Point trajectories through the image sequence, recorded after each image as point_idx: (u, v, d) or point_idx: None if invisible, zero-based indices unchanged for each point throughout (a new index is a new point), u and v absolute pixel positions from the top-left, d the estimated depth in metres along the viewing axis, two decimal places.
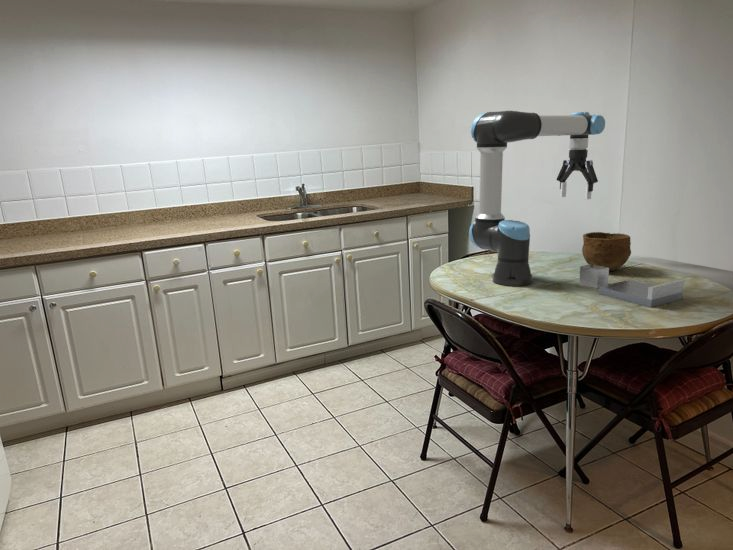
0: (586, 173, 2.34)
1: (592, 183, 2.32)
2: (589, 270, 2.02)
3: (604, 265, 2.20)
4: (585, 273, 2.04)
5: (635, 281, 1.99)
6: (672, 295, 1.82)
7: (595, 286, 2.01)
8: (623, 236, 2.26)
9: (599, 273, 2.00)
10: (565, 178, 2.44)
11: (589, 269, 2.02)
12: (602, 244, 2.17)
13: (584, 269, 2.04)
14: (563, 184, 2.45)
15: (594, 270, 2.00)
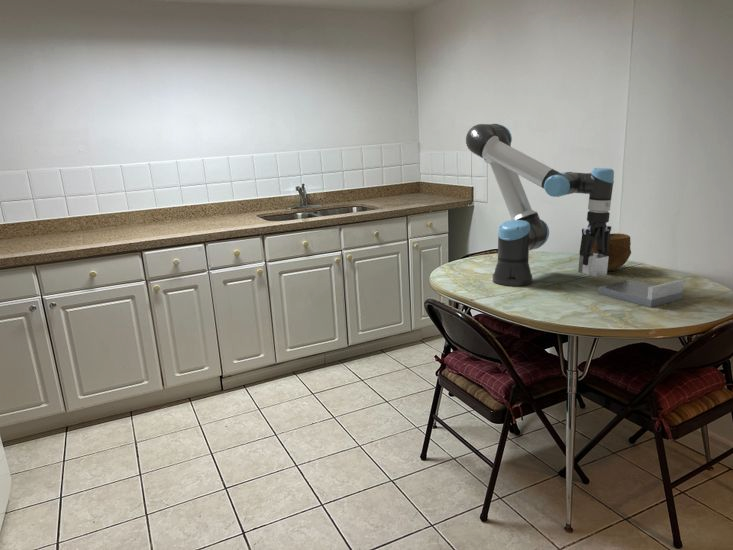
0: None
1: (583, 255, 2.01)
2: None
3: None
4: None
5: (635, 281, 1.99)
6: (672, 295, 1.82)
7: (594, 274, 2.00)
8: (623, 236, 2.26)
9: (598, 261, 1.99)
10: (599, 248, 2.04)
11: None
12: None
13: None
14: None
15: (594, 258, 2.00)
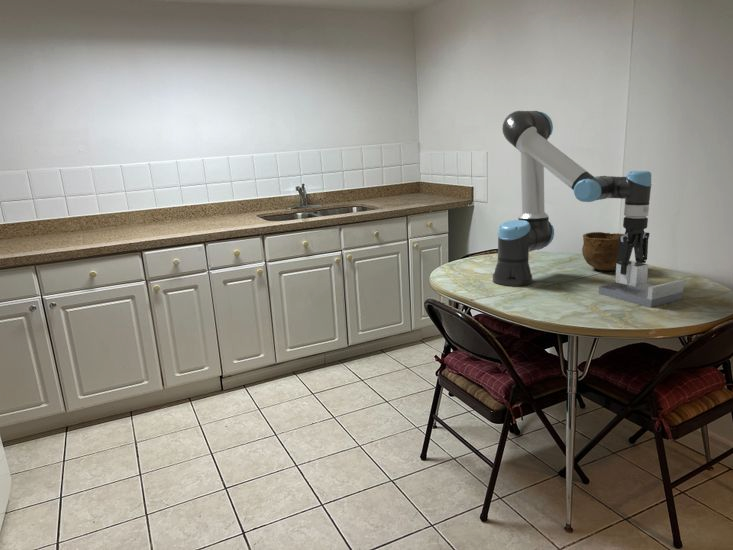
0: None
1: (621, 264, 1.88)
2: None
3: (604, 265, 2.20)
4: None
5: None
6: (672, 295, 1.82)
7: (634, 284, 1.87)
8: None
9: (638, 270, 1.86)
10: (637, 256, 1.91)
11: None
12: (602, 244, 2.17)
13: None
14: None
15: (632, 267, 1.87)
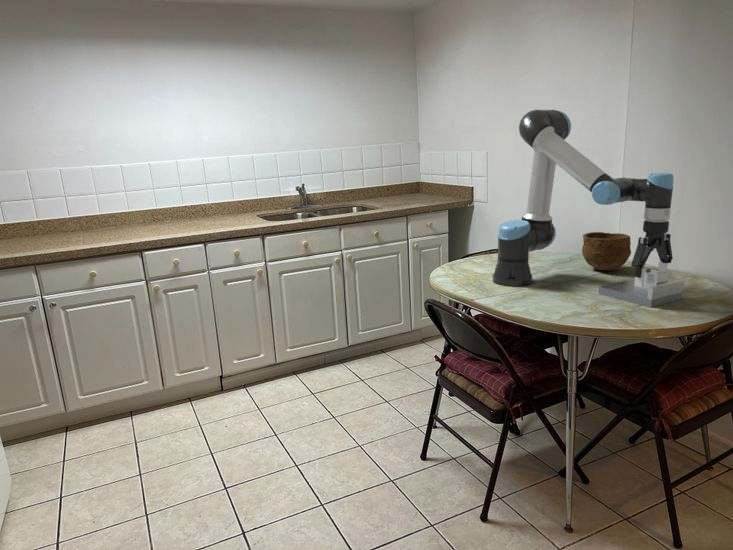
0: None
1: (636, 267, 1.80)
2: (646, 275, 1.83)
3: (604, 265, 2.20)
4: None
5: None
6: (672, 295, 1.82)
7: None
8: (623, 236, 2.26)
9: (658, 279, 1.80)
10: (662, 257, 1.86)
11: (646, 274, 1.82)
12: (602, 244, 2.17)
13: None
14: (660, 265, 1.87)
15: (652, 275, 1.81)
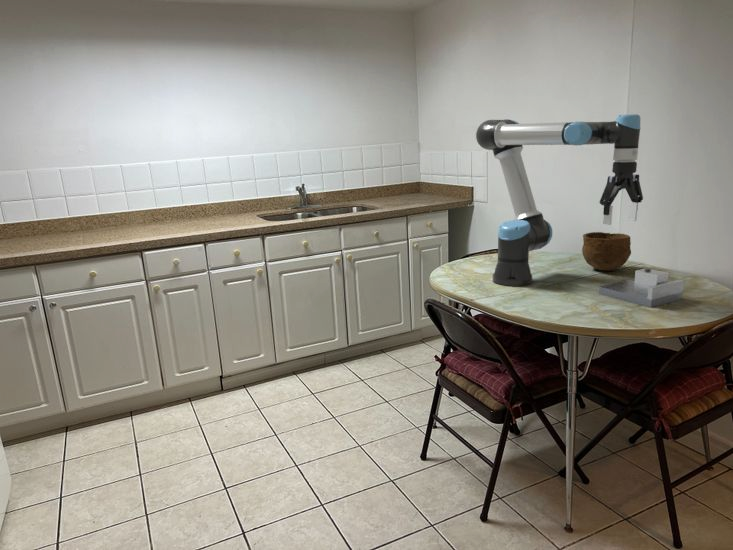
0: (611, 192, 1.87)
1: (604, 204, 1.86)
2: (646, 275, 1.83)
3: (604, 265, 2.20)
4: (641, 279, 1.84)
5: None
6: (672, 295, 1.82)
7: None
8: (623, 236, 2.26)
9: (658, 279, 1.80)
10: (632, 197, 1.93)
11: (646, 274, 1.82)
12: (602, 244, 2.17)
13: (640, 274, 1.84)
14: (631, 204, 1.94)
15: (652, 275, 1.81)
